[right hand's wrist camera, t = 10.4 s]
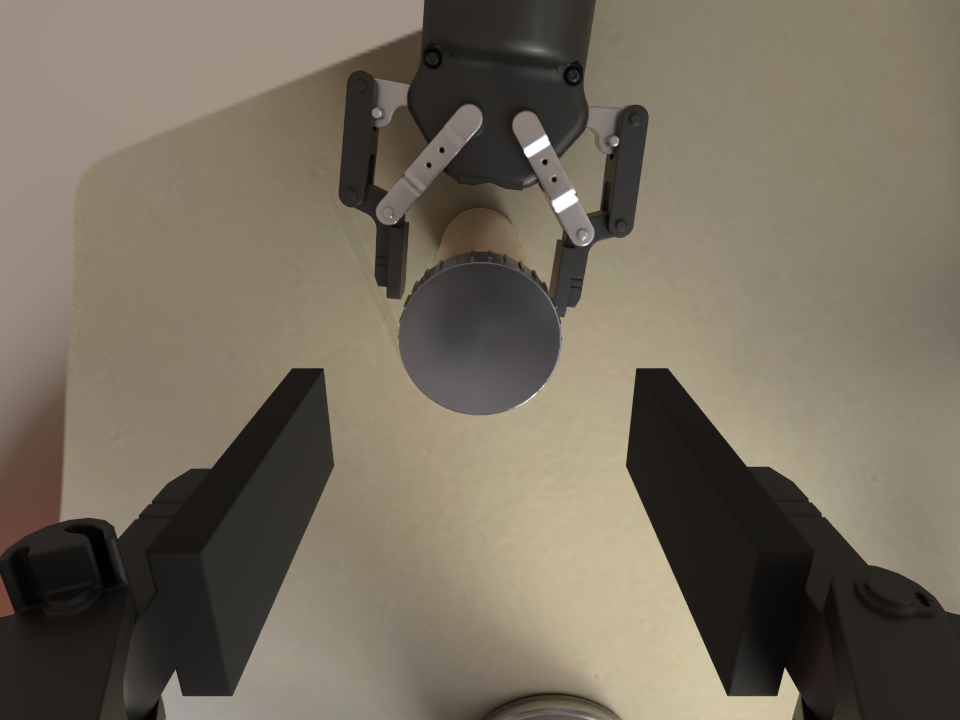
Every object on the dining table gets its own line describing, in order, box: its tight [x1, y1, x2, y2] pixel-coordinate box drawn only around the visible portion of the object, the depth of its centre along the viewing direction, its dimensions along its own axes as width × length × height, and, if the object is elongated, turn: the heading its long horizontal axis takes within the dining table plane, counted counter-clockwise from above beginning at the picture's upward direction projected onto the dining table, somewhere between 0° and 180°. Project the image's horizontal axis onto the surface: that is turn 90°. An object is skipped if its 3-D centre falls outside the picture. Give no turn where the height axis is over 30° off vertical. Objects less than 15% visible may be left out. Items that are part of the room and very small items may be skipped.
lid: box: [398, 250, 562, 415], centre depth 20 cm, size 6×6×2 cm
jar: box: [431, 208, 529, 269], centre depth 28 cm, size 5×5×18 cm
